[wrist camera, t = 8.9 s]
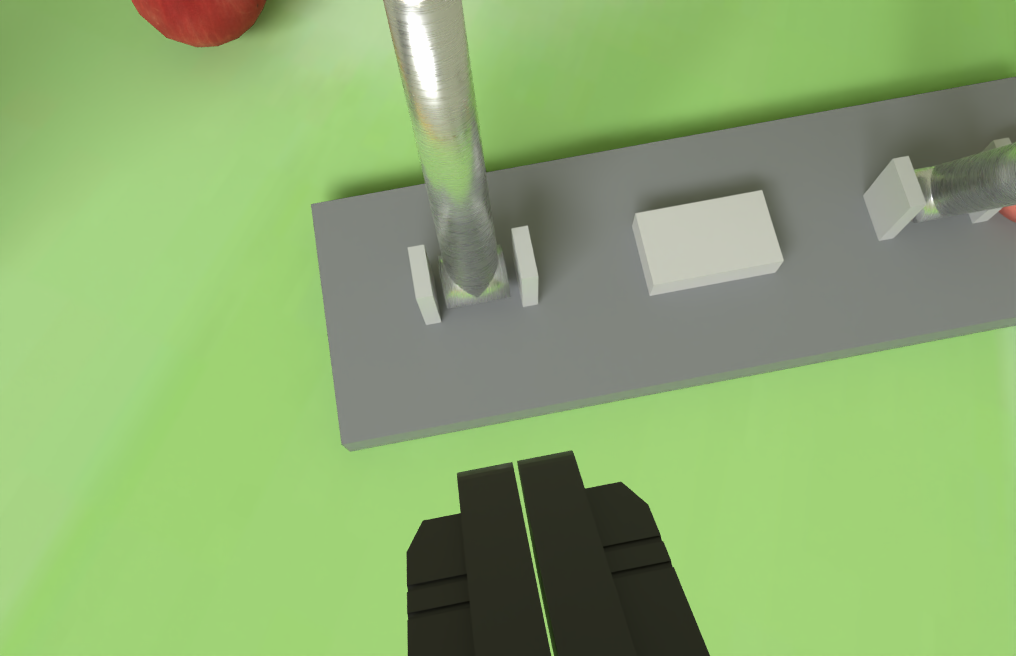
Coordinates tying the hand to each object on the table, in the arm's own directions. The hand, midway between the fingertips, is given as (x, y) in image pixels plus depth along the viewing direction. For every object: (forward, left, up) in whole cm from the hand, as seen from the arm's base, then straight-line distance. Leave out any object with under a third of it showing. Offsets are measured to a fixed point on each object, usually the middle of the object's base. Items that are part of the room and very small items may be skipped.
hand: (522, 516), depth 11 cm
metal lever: (-9, +6, -19) cm, 21 cm away
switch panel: (-4, +13, -22) cm, 26 cm away
